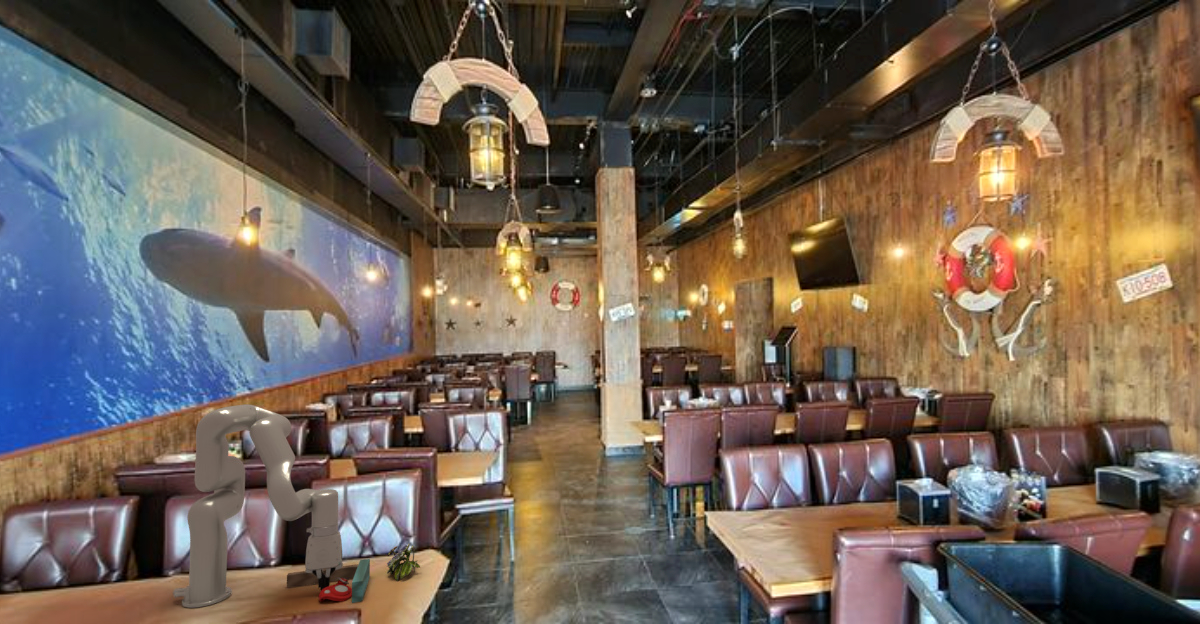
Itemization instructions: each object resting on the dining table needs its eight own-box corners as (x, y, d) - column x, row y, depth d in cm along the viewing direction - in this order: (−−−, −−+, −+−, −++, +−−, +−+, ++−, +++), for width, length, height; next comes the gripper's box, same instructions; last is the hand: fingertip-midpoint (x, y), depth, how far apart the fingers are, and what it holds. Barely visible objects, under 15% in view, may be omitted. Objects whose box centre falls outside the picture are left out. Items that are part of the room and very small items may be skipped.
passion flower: (392, 589, 183) (392, 553, 190) (425, 580, 185) (423, 545, 192) (382, 582, 174) (382, 544, 181) (416, 573, 176) (414, 536, 183)
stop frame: (269, 615, 155) (269, 593, 156) (288, 585, 175) (288, 566, 176) (362, 601, 163) (362, 581, 163) (370, 574, 183) (370, 556, 183)
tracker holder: (359, 594, 166) (325, 596, 160) (354, 608, 166) (320, 610, 159) (349, 573, 175) (317, 574, 169) (345, 586, 175) (312, 588, 169)
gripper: (295, 536, 165) (294, 598, 164) (348, 530, 170) (347, 590, 168) (301, 529, 172) (300, 588, 171) (352, 523, 177) (351, 581, 175)
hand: (324, 589), depth 170 cm, fingers closed
